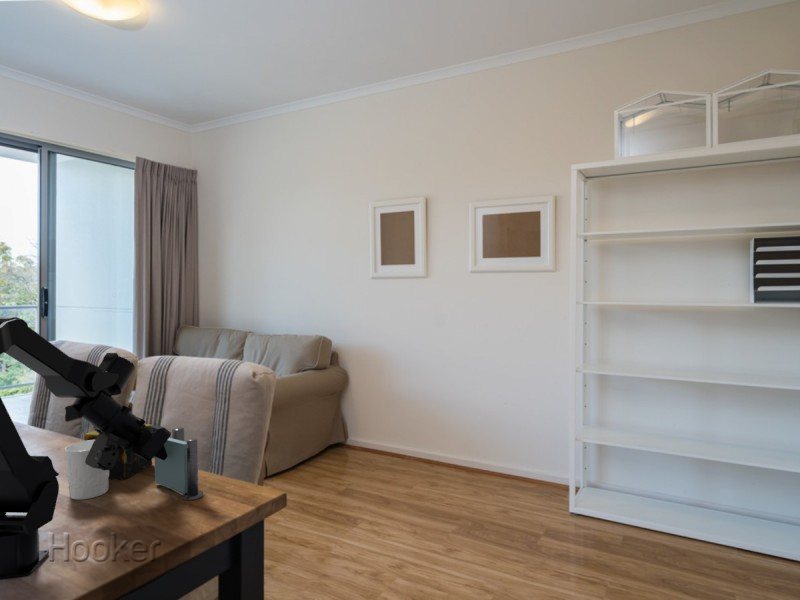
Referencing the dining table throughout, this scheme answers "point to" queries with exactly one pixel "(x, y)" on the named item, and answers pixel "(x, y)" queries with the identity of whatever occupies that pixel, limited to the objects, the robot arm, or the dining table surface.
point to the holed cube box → (123, 461)
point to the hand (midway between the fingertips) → (162, 456)
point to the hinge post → (192, 472)
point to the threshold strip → (178, 492)
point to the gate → (173, 466)
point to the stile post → (178, 433)
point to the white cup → (84, 473)
